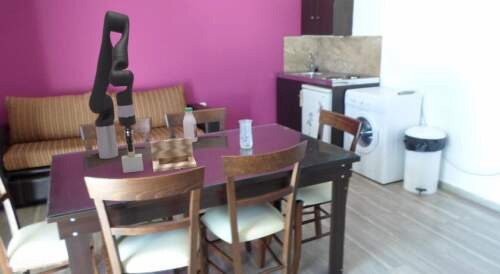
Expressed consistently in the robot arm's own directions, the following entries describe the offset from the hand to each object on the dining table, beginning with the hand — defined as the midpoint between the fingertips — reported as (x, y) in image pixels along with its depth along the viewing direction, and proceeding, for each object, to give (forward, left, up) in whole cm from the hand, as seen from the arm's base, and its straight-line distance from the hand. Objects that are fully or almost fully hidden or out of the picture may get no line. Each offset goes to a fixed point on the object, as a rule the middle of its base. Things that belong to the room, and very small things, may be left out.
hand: (131, 149), depth 181 cm
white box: (0, 0, -10) cm, 10 cm away
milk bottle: (+32, +40, -10) cm, 52 cm away
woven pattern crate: (+19, 0, -10) cm, 21 cm away
